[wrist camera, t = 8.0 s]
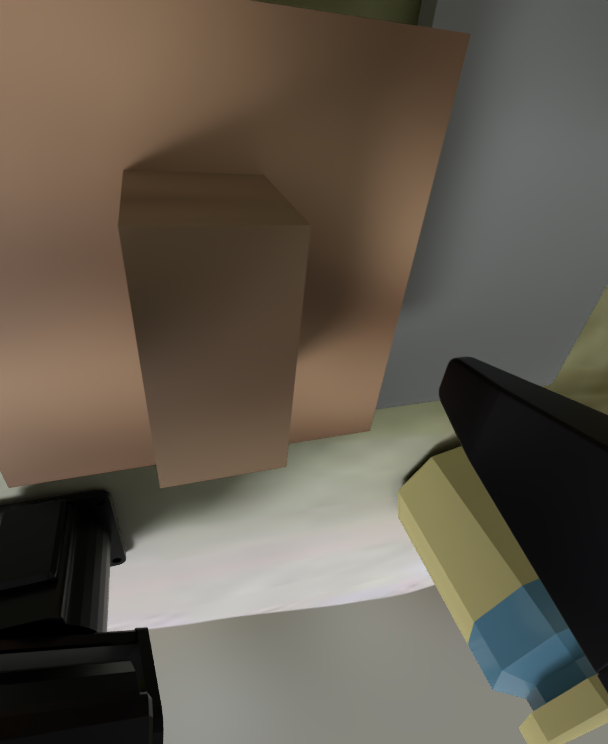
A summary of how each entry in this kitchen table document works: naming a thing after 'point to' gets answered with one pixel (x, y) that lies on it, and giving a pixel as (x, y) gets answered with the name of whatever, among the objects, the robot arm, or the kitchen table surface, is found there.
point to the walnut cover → (204, 227)
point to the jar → (499, 600)
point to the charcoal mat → (511, 198)
